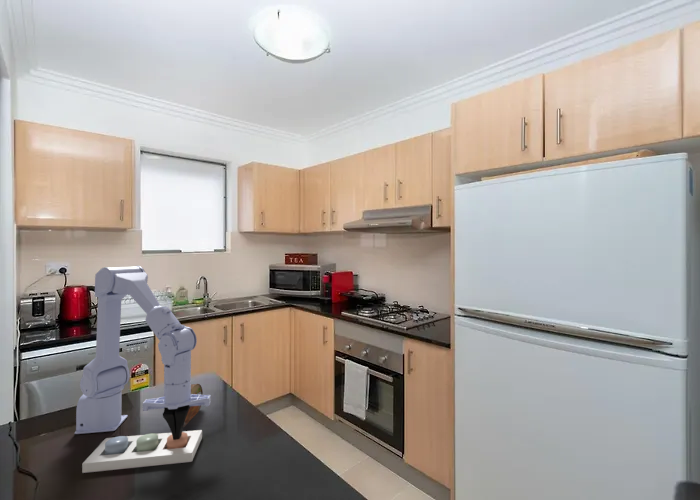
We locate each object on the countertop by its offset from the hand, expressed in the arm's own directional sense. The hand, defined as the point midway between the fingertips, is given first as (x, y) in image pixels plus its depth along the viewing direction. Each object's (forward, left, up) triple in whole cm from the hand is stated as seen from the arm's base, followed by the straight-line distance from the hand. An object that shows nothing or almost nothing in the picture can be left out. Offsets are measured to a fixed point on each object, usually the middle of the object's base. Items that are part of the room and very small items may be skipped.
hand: (177, 437), depth 82 cm
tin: (-2, +16, -3) cm, 16 cm away
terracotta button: (0, 0, -2) cm, 2 cm away
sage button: (-6, 0, -2) cm, 7 cm away
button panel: (-7, 0, -3) cm, 7 cm away
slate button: (-13, 0, -2) cm, 13 cm away
